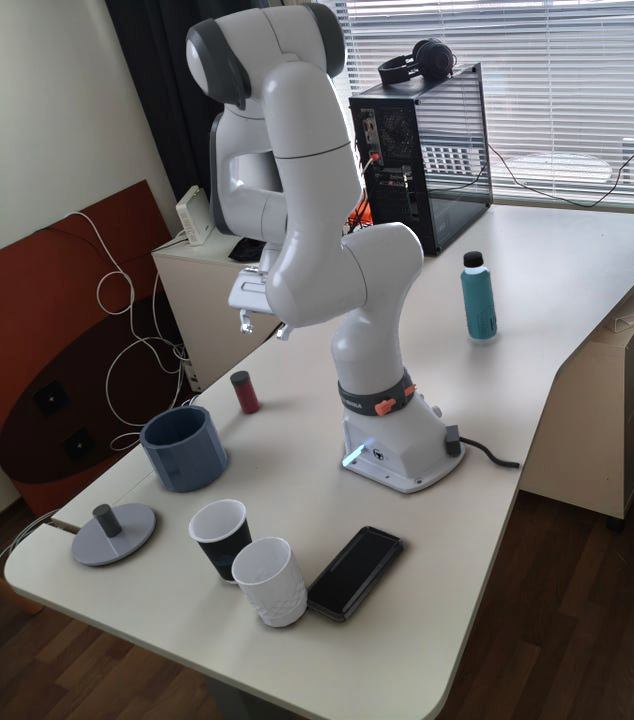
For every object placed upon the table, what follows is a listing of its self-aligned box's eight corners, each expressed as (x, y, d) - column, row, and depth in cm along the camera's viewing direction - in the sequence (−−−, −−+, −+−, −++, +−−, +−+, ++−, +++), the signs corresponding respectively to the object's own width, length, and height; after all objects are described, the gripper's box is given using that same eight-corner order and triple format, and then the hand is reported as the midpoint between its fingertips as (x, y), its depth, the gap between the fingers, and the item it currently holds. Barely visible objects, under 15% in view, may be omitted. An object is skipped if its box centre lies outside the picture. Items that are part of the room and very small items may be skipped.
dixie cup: (249, 542, 108) (228, 491, 102) (277, 567, 103) (256, 515, 97) (203, 574, 103) (178, 523, 97) (230, 602, 98) (205, 550, 92)
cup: (239, 465, 124) (221, 421, 118) (178, 502, 117) (156, 458, 112) (209, 439, 131) (191, 397, 125) (150, 472, 125) (128, 430, 119)
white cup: (290, 574, 101) (267, 528, 96) (324, 599, 97) (303, 551, 91) (246, 614, 97) (219, 567, 91) (279, 642, 92) (254, 594, 86)
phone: (405, 540, 103) (341, 619, 93) (407, 545, 104) (343, 624, 93) (364, 523, 107) (298, 597, 96) (365, 528, 107) (300, 602, 97)
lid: (170, 532, 112) (155, 505, 108) (91, 582, 105) (73, 554, 101) (139, 497, 119) (124, 470, 116) (63, 541, 113) (46, 514, 109)
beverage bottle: (495, 346, 147) (486, 261, 136) (465, 345, 149) (453, 261, 138) (501, 330, 152) (492, 246, 141) (471, 330, 154) (460, 247, 143)
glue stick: (263, 407, 138) (252, 374, 133) (247, 416, 136) (235, 383, 131) (254, 400, 140) (243, 368, 136) (238, 409, 138) (226, 377, 134)
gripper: (231, 260, 141) (213, 325, 139) (311, 270, 133) (293, 340, 131) (252, 270, 147) (234, 333, 145) (330, 280, 138) (313, 347, 137)
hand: (263, 336), depth 138 cm, fingers open, 8 cm apart
